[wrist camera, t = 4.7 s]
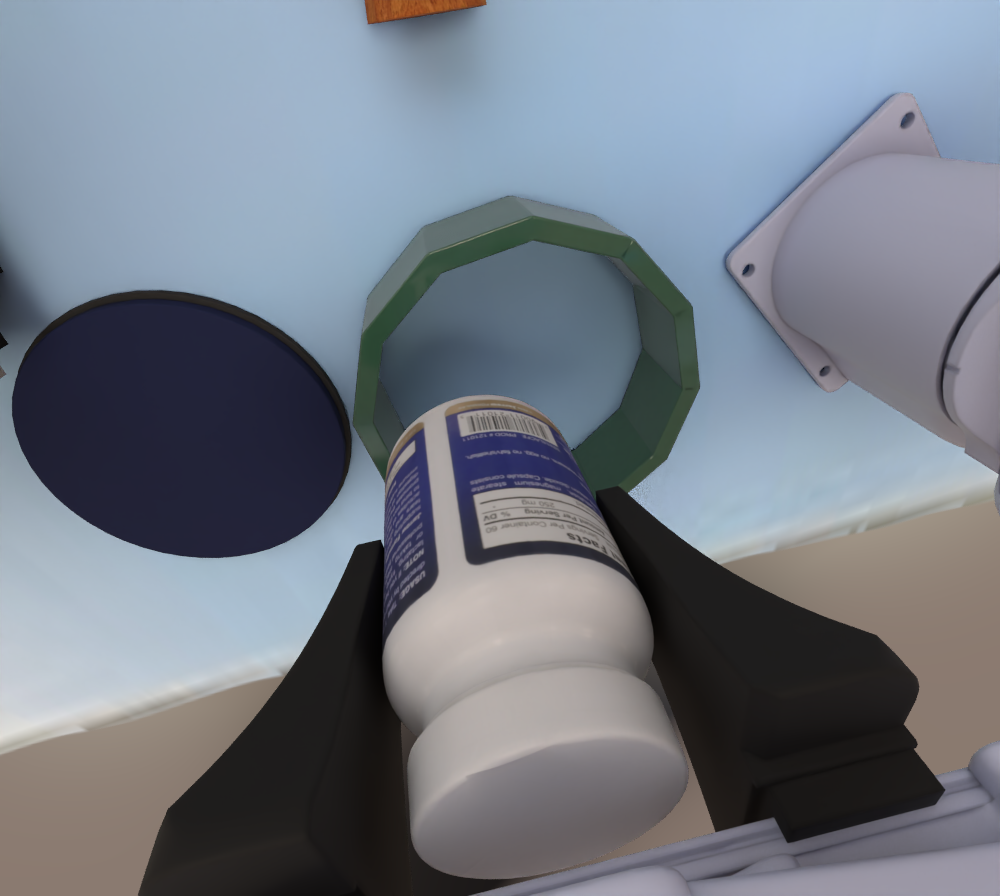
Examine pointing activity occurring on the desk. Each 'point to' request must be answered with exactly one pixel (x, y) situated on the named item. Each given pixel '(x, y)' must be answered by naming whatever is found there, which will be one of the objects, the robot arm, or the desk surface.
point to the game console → (2, 345)
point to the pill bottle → (516, 650)
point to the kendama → (413, 8)
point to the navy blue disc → (181, 424)
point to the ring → (514, 221)
